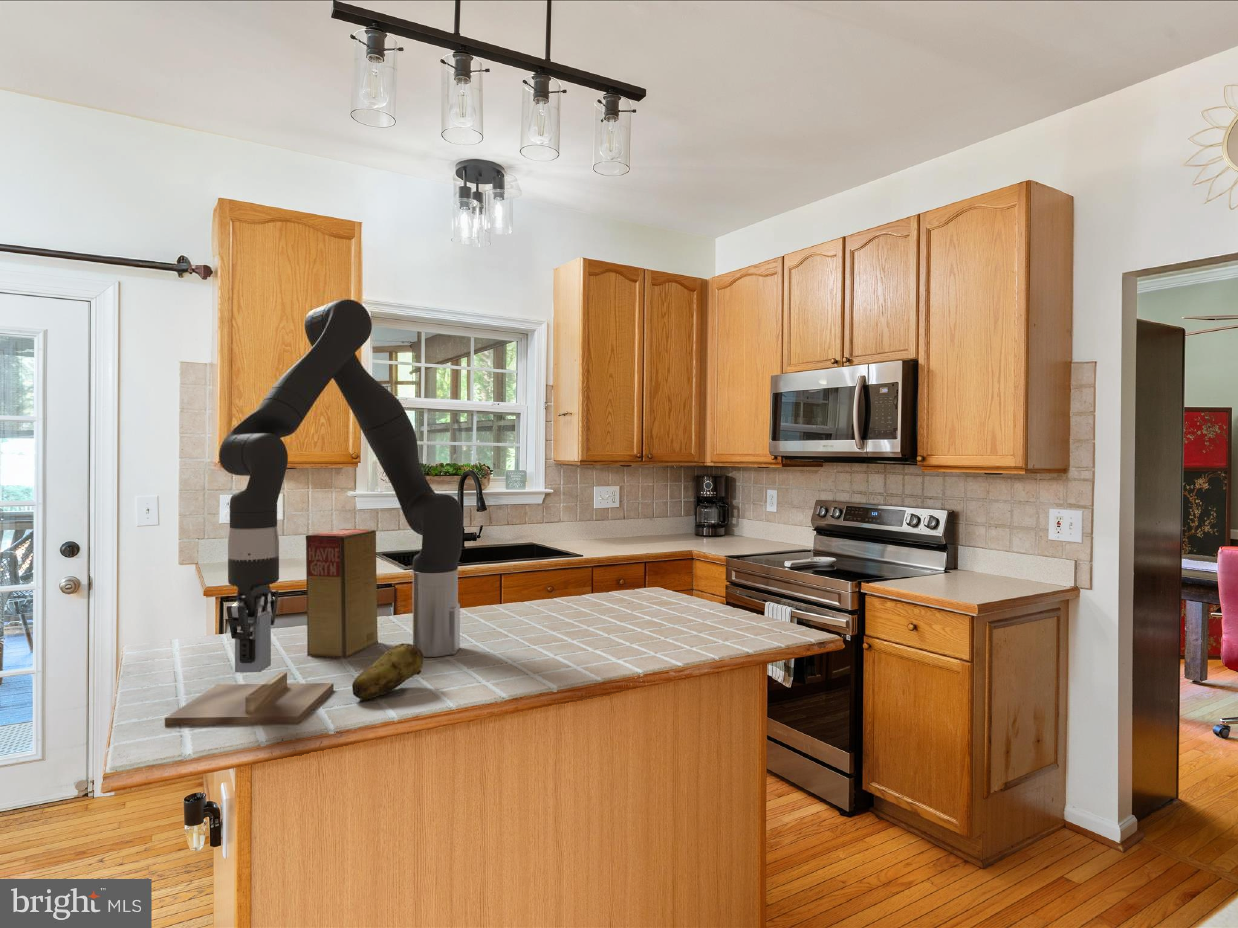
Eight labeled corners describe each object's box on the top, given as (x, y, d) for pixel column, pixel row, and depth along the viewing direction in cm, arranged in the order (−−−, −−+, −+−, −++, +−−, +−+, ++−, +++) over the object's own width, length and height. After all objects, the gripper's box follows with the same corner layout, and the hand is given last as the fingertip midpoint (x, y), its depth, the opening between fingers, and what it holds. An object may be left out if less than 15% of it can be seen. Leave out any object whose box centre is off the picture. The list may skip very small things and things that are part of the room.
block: (270, 665, 122) (270, 610, 122) (260, 672, 118) (260, 615, 118) (246, 665, 122) (246, 610, 122) (234, 672, 118) (234, 616, 118)
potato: (343, 693, 127) (343, 647, 127) (416, 680, 134) (416, 637, 134) (356, 707, 120) (355, 658, 120) (432, 692, 127) (431, 647, 127)
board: (333, 689, 128) (333, 668, 128) (297, 723, 112) (297, 699, 112) (217, 691, 128) (217, 670, 127) (164, 725, 112) (164, 701, 111)
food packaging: (341, 639, 163) (341, 527, 162) (380, 641, 161) (379, 528, 160) (304, 655, 150) (303, 534, 149) (345, 658, 148) (345, 535, 147)
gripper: (257, 560, 113) (257, 671, 113) (294, 548, 127) (294, 646, 127) (208, 561, 112) (208, 671, 113) (250, 548, 127) (250, 647, 127)
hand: (254, 657), depth 120 cm, fingers closed on block, 4 cm apart
